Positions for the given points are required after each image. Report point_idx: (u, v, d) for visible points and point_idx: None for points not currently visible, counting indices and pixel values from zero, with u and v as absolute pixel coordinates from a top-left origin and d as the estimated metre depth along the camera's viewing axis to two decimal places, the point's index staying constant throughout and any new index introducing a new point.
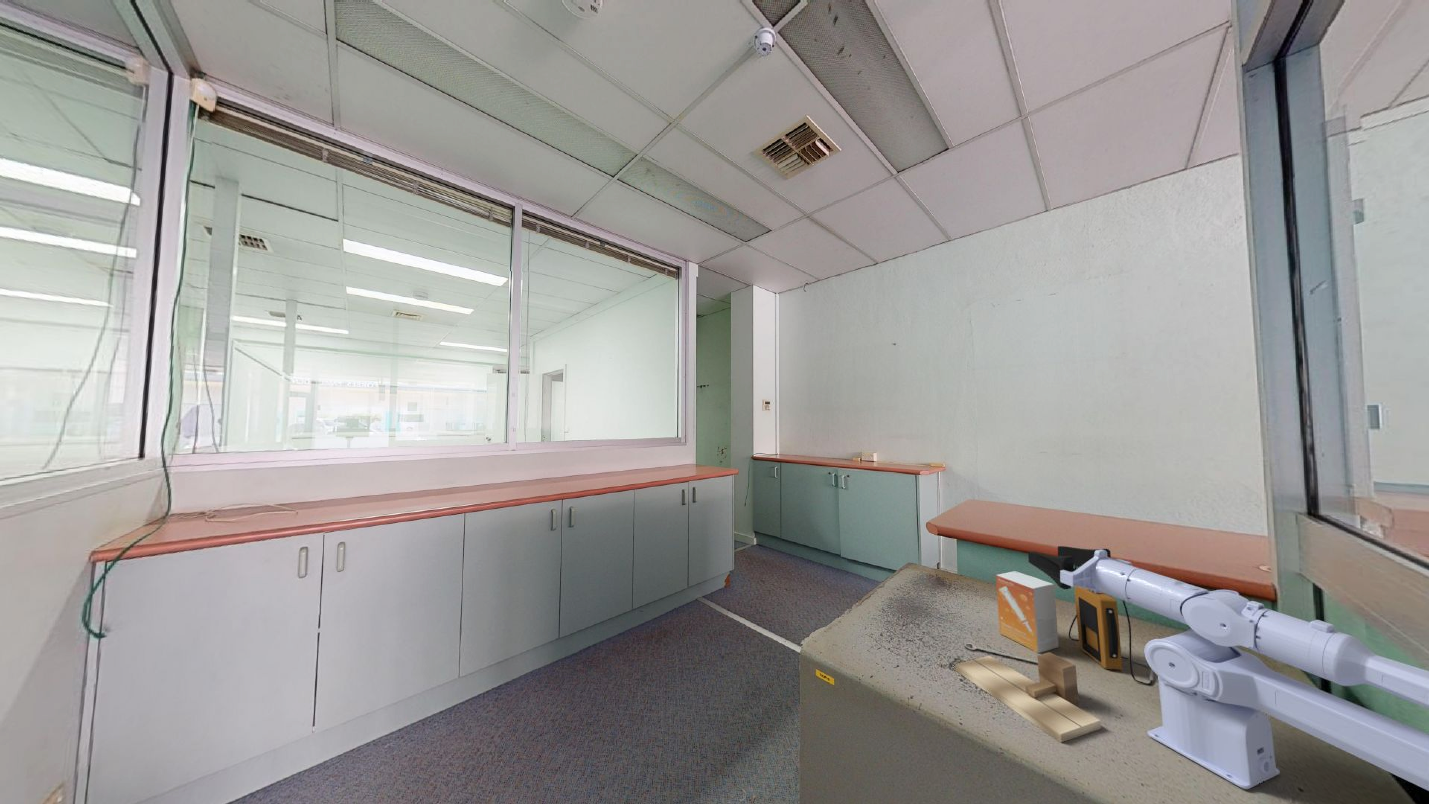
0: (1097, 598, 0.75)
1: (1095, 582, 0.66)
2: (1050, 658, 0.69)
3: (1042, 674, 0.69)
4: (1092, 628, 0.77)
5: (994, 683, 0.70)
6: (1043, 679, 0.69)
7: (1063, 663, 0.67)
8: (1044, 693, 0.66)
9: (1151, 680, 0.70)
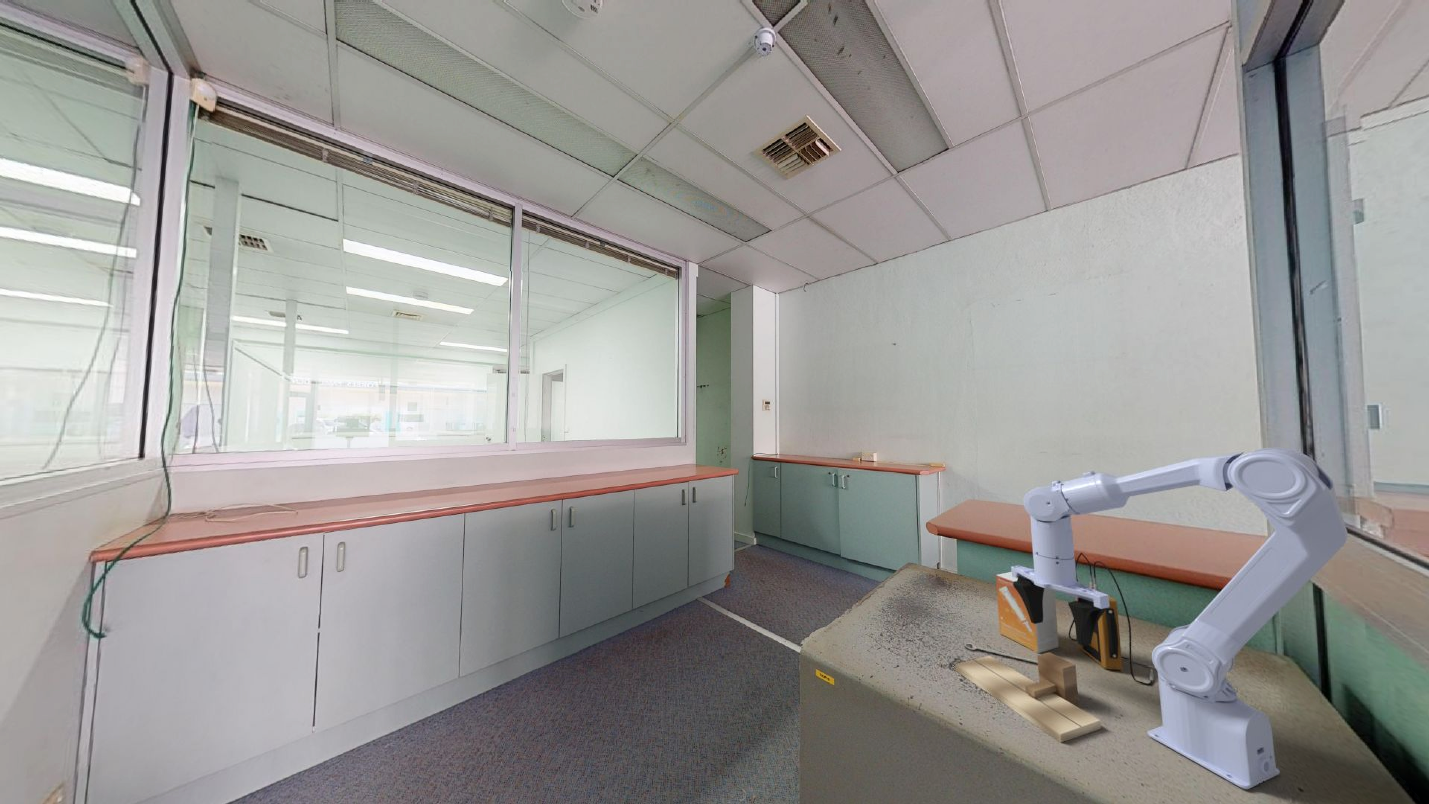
0: None
1: (1075, 581, 0.68)
2: (1049, 658, 0.69)
3: (1042, 674, 0.69)
4: None
5: (994, 683, 0.70)
6: (1043, 679, 0.69)
7: (1063, 663, 0.67)
8: (1044, 693, 0.66)
9: (1151, 680, 0.70)
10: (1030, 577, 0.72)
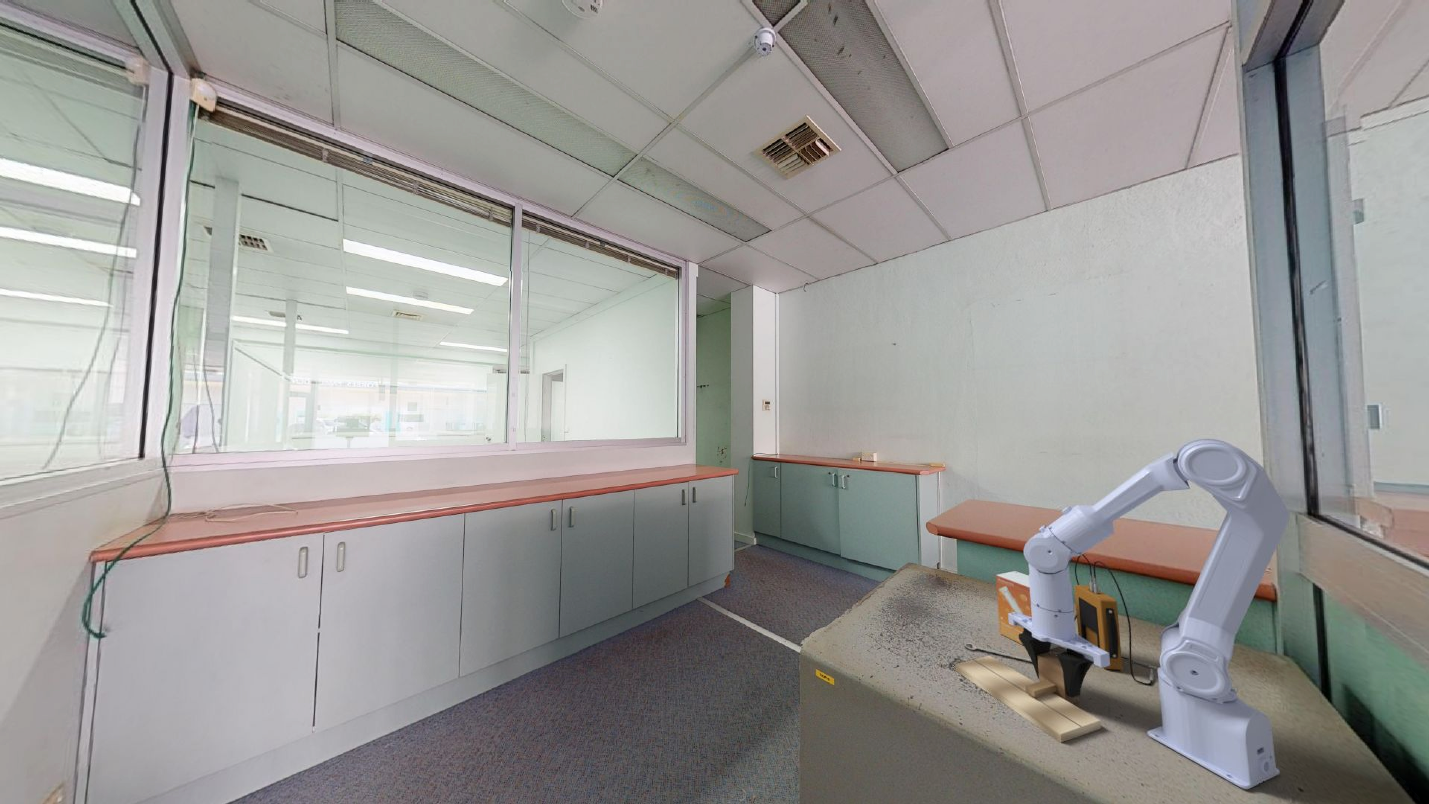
0: (1097, 598, 0.75)
1: (1074, 635, 0.66)
2: (1050, 658, 0.69)
3: (1042, 674, 0.69)
4: (1092, 628, 0.77)
5: (994, 683, 0.70)
6: (1043, 679, 0.69)
7: None
8: (1044, 693, 0.66)
9: (1151, 680, 0.70)
10: (1028, 627, 0.70)
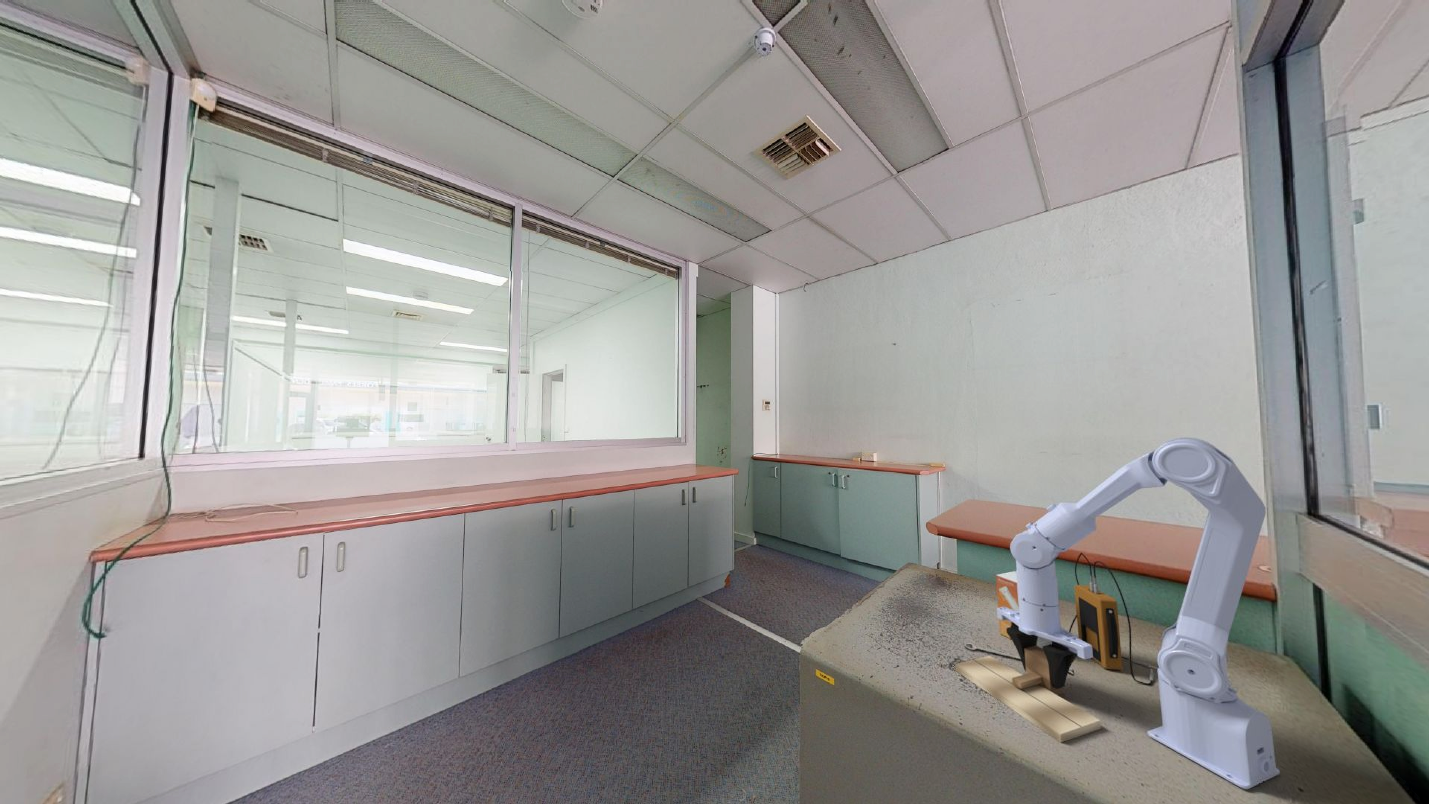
0: (1097, 598, 0.75)
1: (1059, 629, 0.68)
2: (1036, 651, 0.71)
3: (1028, 667, 0.71)
4: (1092, 628, 0.77)
5: (994, 683, 0.70)
6: (1030, 671, 0.71)
7: None
8: (1030, 685, 0.68)
9: (1151, 680, 0.70)
10: (1015, 621, 0.72)
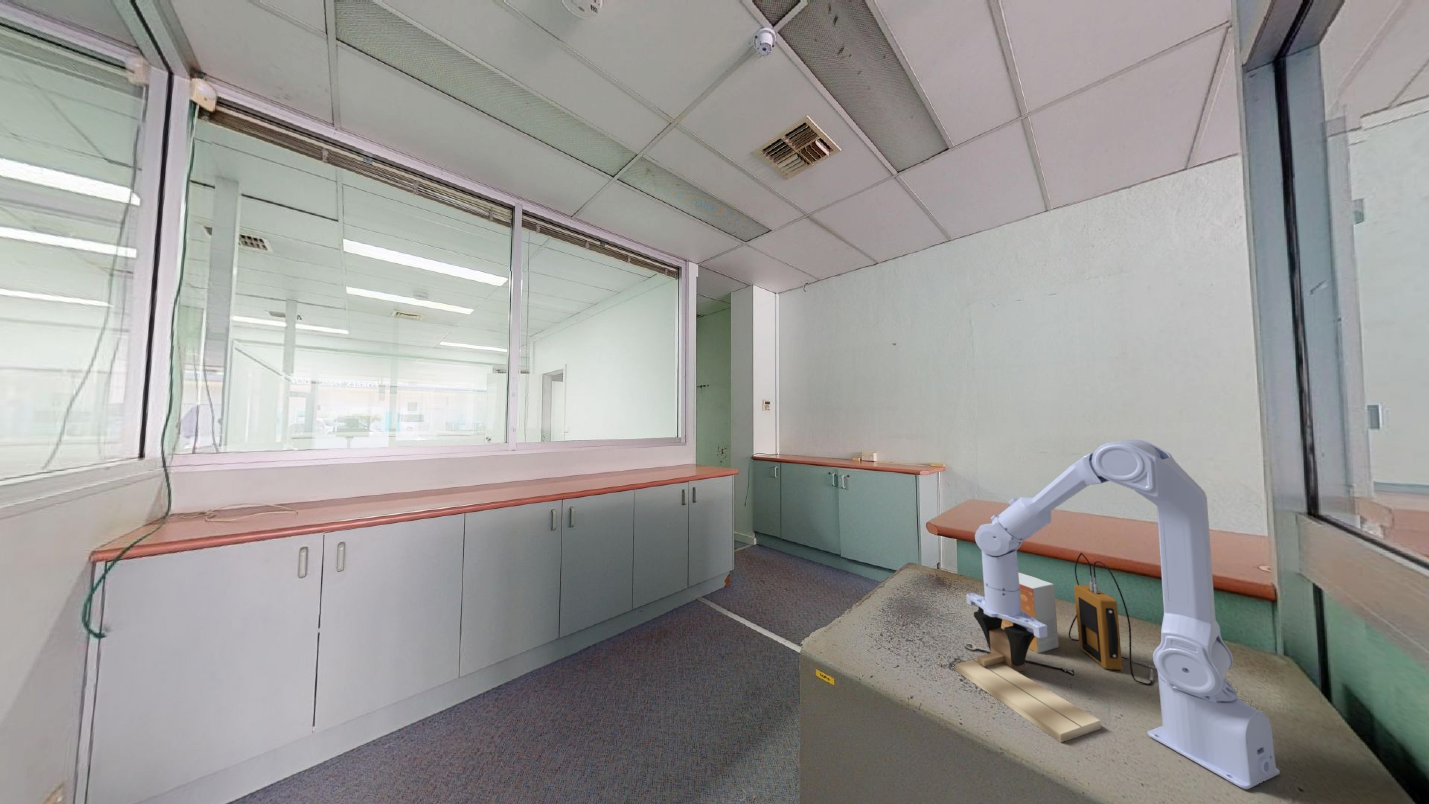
0: (1097, 598, 0.75)
1: (1019, 611, 0.74)
2: (999, 632, 0.77)
3: (993, 647, 0.77)
4: (1092, 628, 0.77)
5: (994, 683, 0.70)
6: (994, 651, 0.77)
7: None
8: (993, 663, 0.74)
9: (1151, 680, 0.70)
10: (981, 606, 0.79)
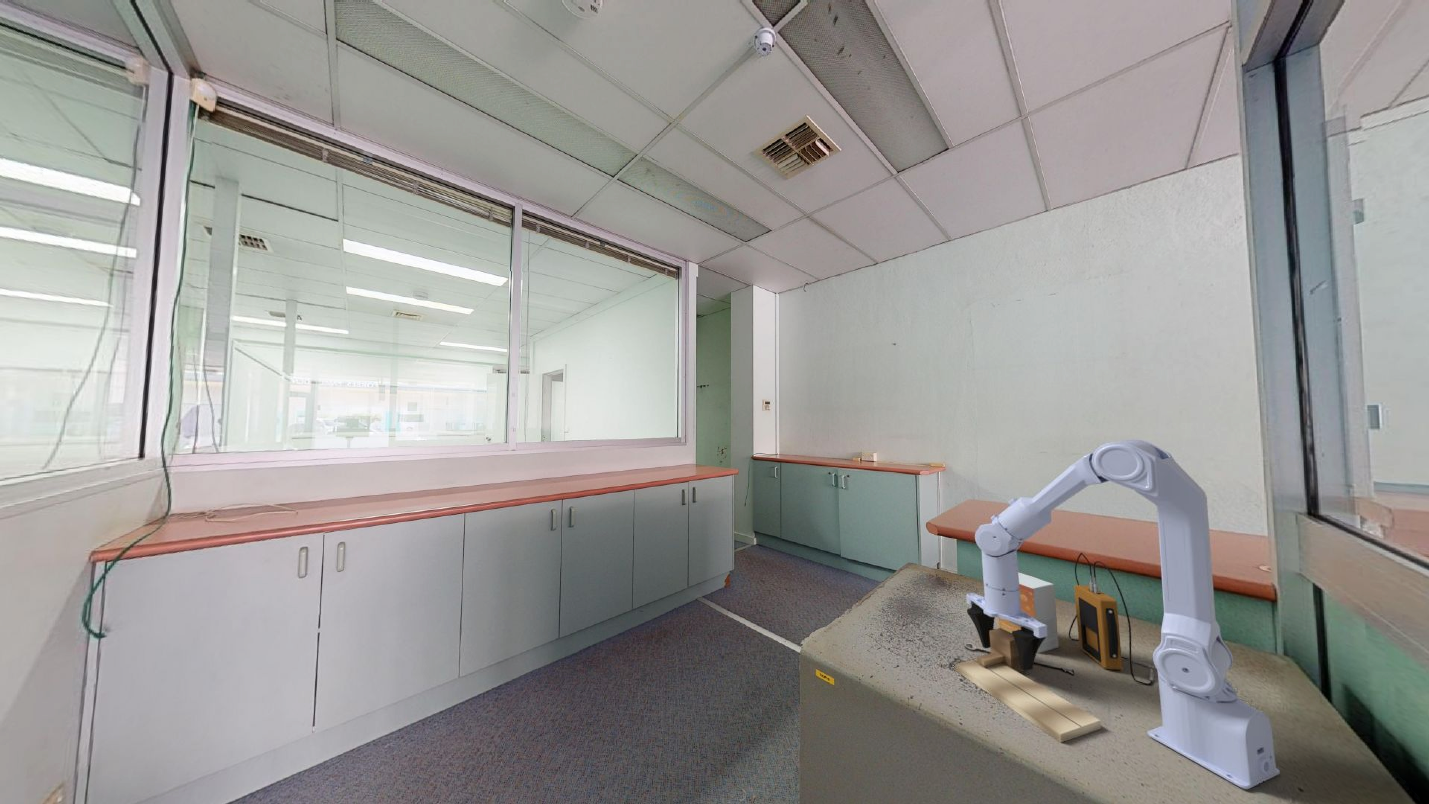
0: (1097, 598, 0.75)
1: (1019, 611, 0.74)
2: (1000, 632, 0.77)
3: (993, 647, 0.77)
4: (1092, 628, 0.77)
5: (994, 683, 0.70)
6: (994, 651, 0.77)
7: (1011, 636, 0.76)
8: (993, 663, 0.74)
9: (1151, 680, 0.70)
10: (981, 606, 0.79)
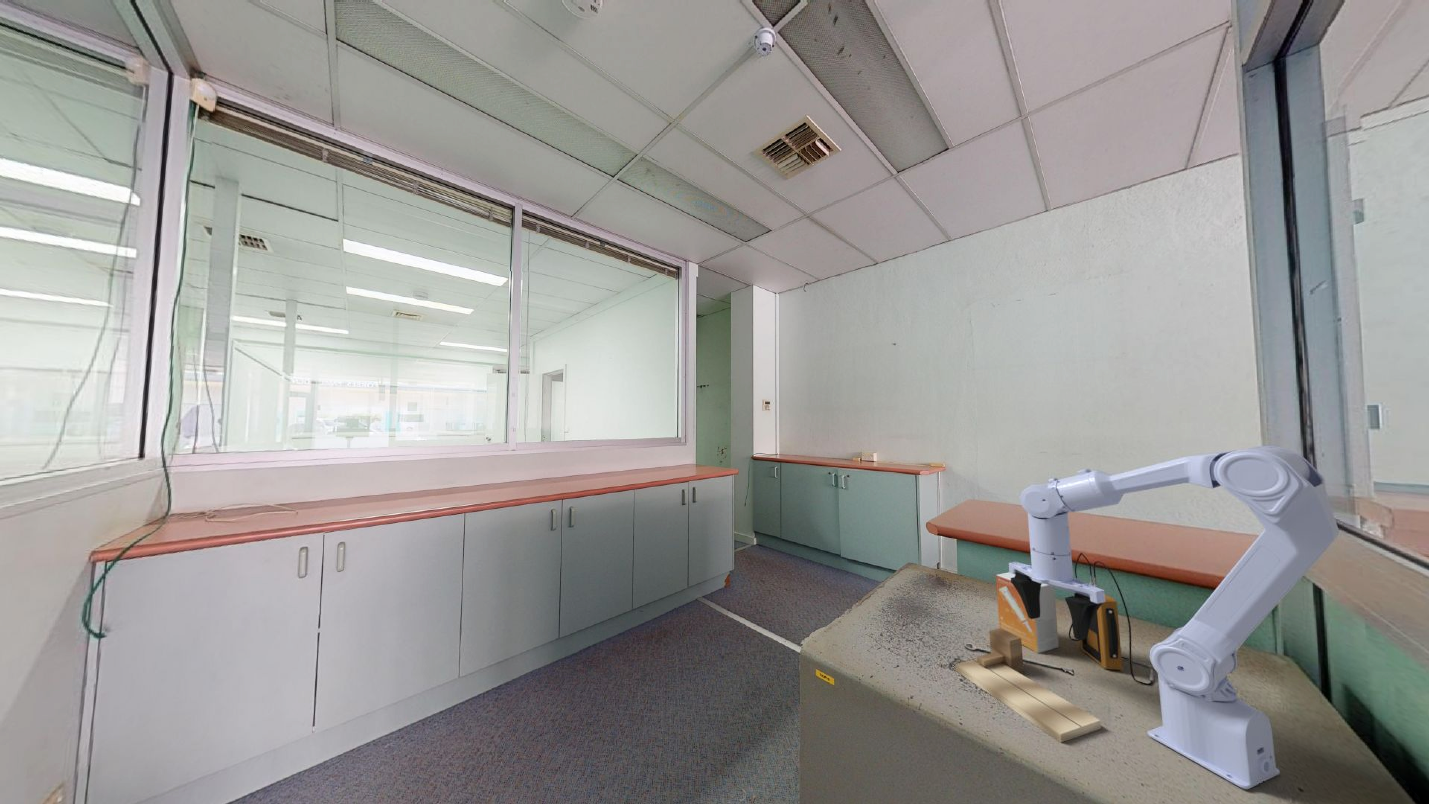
0: None
1: (1071, 577, 0.69)
2: (999, 632, 0.77)
3: (993, 647, 0.77)
4: (1092, 628, 0.77)
5: (994, 683, 0.70)
6: (994, 651, 0.77)
7: (1010, 636, 0.76)
8: (993, 663, 0.74)
9: (1151, 680, 0.70)
10: (1027, 573, 0.74)
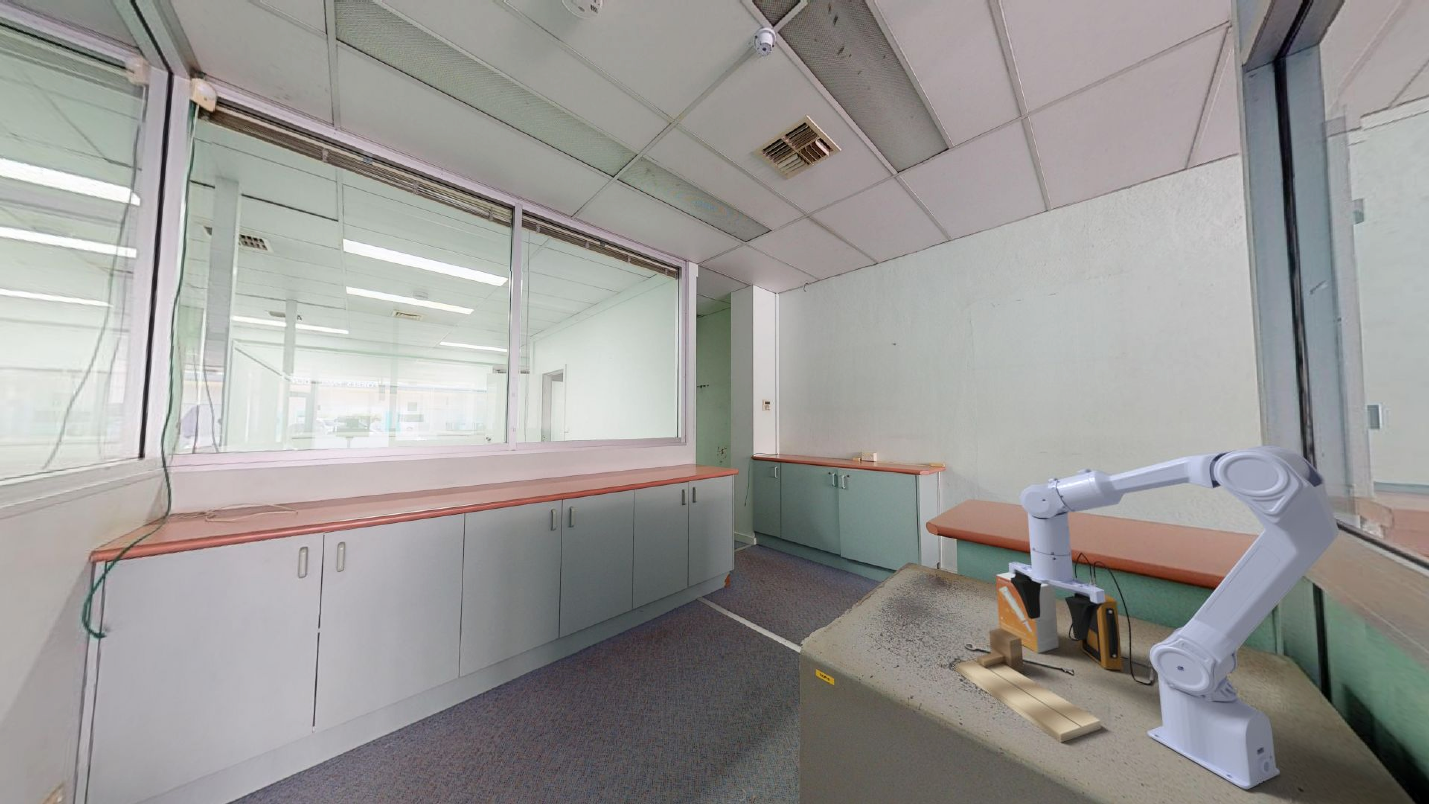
0: None
1: (1071, 577, 0.69)
2: (999, 632, 0.77)
3: (993, 647, 0.77)
4: (1092, 628, 0.77)
5: (994, 683, 0.70)
6: (994, 651, 0.77)
7: (1010, 636, 0.76)
8: (993, 663, 0.74)
9: (1151, 680, 0.70)
10: (1027, 573, 0.74)
